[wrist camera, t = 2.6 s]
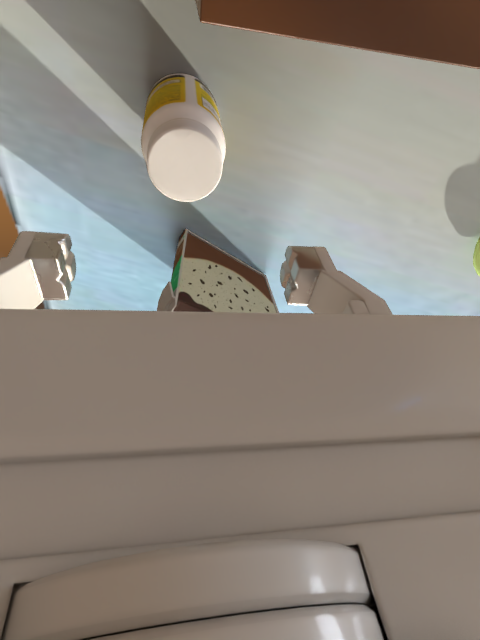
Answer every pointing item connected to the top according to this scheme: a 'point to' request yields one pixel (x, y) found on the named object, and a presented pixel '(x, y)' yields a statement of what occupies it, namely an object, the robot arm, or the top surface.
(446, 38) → the stand
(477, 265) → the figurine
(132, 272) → the top surface
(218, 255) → the food container
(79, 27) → the top surface
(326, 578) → the robot arm
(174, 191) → the supplement bottle
